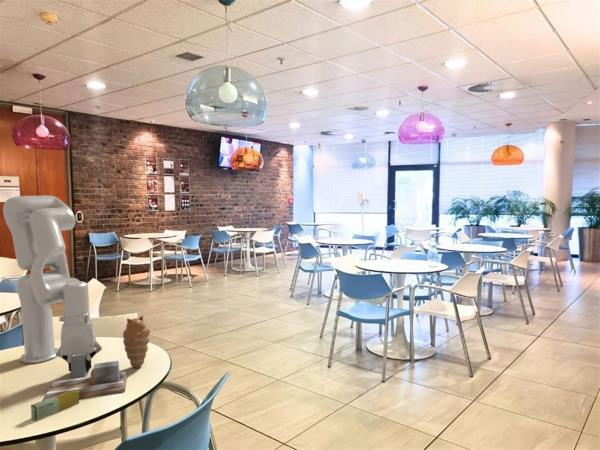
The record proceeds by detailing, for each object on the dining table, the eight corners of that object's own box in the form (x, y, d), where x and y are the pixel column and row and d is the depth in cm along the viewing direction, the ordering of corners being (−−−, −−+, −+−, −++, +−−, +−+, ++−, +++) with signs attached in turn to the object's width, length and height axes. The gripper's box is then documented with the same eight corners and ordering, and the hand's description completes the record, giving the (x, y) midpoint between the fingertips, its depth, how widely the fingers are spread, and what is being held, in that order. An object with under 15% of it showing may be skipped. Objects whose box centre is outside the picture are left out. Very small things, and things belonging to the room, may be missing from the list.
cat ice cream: (127, 374, 143) (124, 322, 142) (121, 366, 150) (118, 316, 148) (154, 367, 149) (151, 316, 147) (147, 360, 155) (144, 311, 153)
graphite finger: (71, 378, 140) (70, 360, 140) (75, 370, 147) (75, 353, 147) (85, 376, 141) (84, 358, 141) (88, 368, 149) (87, 351, 148)
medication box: (34, 422, 115) (34, 408, 115) (30, 418, 117) (29, 404, 116) (80, 403, 125) (79, 390, 124) (75, 401, 126) (74, 388, 126)
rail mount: (43, 404, 124) (41, 381, 124) (52, 386, 136) (51, 365, 135) (124, 391, 131) (123, 369, 131) (127, 375, 143) (126, 355, 142)
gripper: (46, 325, 137) (49, 380, 138) (103, 319, 142) (106, 372, 144) (51, 318, 144) (55, 371, 145) (105, 313, 149) (108, 364, 151)
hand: (80, 371), depth 144 cm, fingers closed on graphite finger, 3 cm apart
